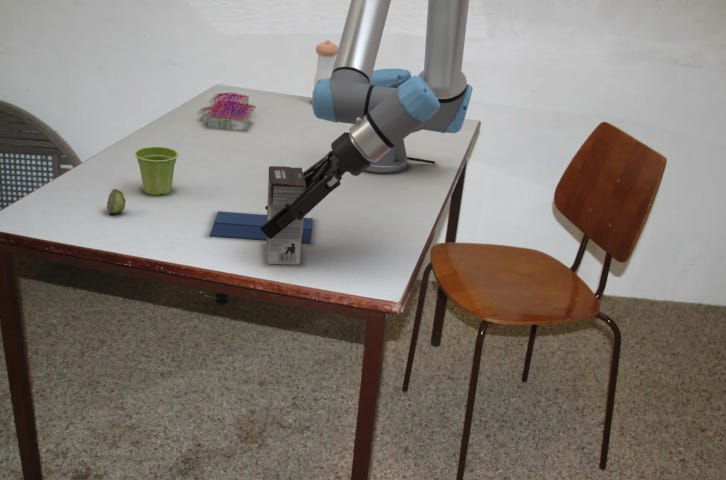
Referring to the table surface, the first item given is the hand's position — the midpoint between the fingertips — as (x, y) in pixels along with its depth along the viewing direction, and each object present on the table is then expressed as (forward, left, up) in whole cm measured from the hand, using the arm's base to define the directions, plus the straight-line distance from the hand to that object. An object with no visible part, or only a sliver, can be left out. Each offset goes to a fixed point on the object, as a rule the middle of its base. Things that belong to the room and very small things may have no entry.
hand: (267, 222), depth 150 cm
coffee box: (-3, 0, -7) cm, 7 cm away
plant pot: (+27, -29, -7) cm, 40 cm away
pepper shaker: (-8, -115, -7) cm, 115 cm away
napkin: (+2, -12, -6) cm, 14 cm away
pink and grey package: (+19, -93, -7) cm, 95 cm away
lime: (+33, -15, -7) cm, 37 cm away
